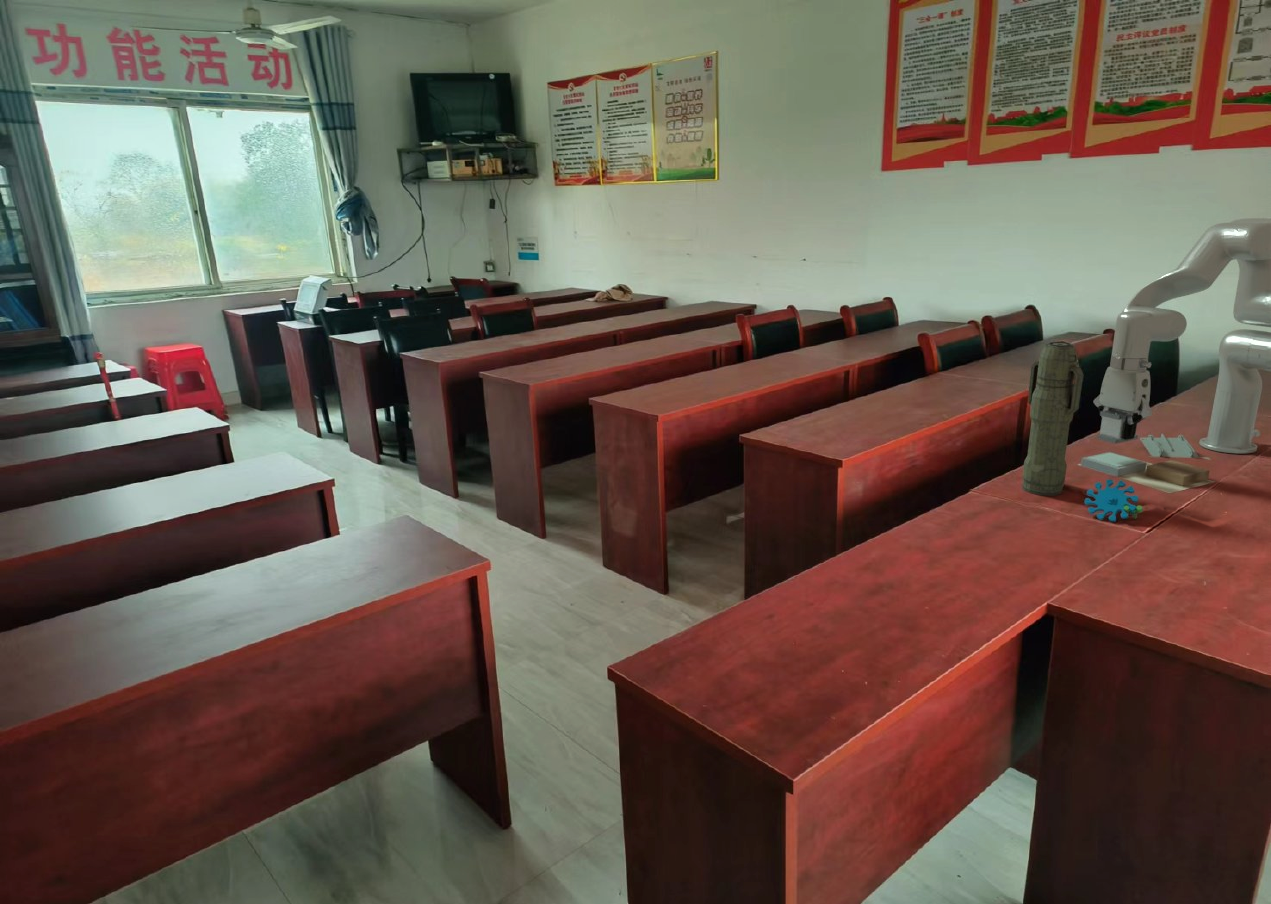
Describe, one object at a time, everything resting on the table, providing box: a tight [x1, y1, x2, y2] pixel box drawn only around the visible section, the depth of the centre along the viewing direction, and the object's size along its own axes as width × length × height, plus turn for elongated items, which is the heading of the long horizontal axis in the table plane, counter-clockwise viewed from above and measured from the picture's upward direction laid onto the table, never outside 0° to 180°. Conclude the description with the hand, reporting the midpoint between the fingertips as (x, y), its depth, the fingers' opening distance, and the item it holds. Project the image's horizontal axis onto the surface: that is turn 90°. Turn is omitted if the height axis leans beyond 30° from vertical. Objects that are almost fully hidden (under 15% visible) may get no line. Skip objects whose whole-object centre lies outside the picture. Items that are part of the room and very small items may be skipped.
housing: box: [1096, 409, 1142, 445], centre depth 196 cm, size 8×5×7 cm, turn 113°
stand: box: [1145, 459, 1211, 487], centre depth 190 cm, size 9×9×2 cm
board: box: [1077, 454, 1216, 494], centre depth 195 cm, size 16×24×1 cm, turn 23°
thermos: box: [1021, 341, 1084, 497], centre depth 184 cm, size 9×12×35 cm
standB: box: [1080, 451, 1147, 478], centre depth 198 cm, size 10×10×2 cm
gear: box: [1084, 478, 1144, 522], centre depth 172 cm, size 11×6×10 cm
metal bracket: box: [1139, 433, 1211, 461], centre depth 208 cm, size 14×6×15 cm
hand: (1117, 435), depth 196 cm, fingers closed on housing, 5 cm apart
